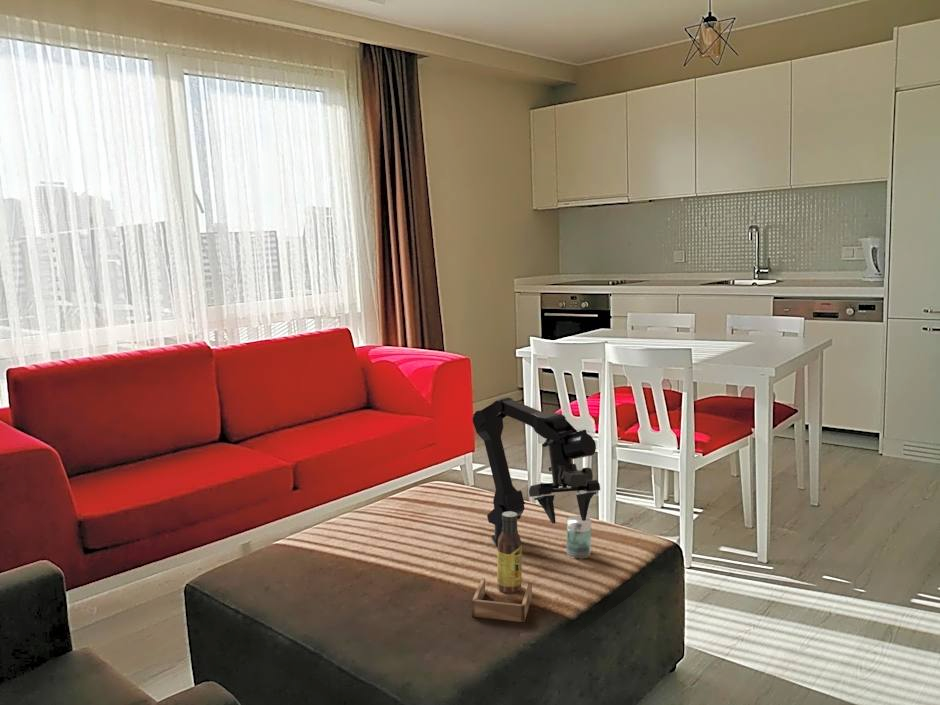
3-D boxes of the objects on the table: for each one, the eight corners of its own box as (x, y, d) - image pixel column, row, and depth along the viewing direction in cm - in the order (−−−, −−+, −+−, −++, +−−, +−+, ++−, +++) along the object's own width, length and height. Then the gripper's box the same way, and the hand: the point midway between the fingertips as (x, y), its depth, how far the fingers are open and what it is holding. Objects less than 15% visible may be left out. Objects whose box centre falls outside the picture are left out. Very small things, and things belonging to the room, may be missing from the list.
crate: (482, 592, 199) (482, 578, 198) (531, 598, 196) (531, 583, 195) (471, 616, 187) (471, 600, 187) (524, 622, 185) (524, 606, 184)
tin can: (563, 550, 223) (563, 516, 221) (585, 547, 224) (586, 514, 223) (571, 560, 217) (571, 526, 215) (594, 558, 218) (594, 523, 216)
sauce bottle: (519, 595, 197) (520, 520, 194) (495, 593, 199) (495, 518, 195) (523, 583, 204) (523, 510, 200) (499, 581, 205) (499, 508, 201)
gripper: (546, 459, 197) (554, 522, 193) (608, 455, 205) (616, 516, 201) (524, 465, 206) (531, 525, 203) (584, 461, 214) (592, 520, 211)
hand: (569, 522), depth 204 cm, fingers open, 9 cm apart
